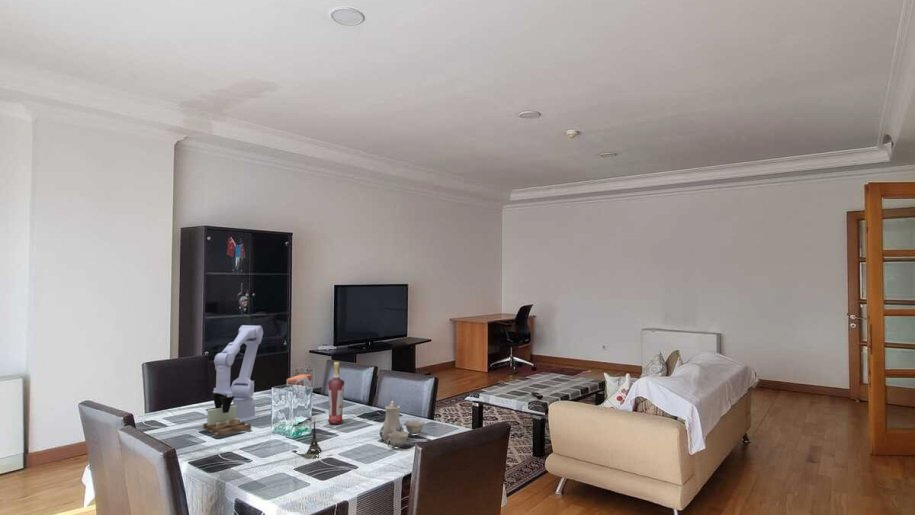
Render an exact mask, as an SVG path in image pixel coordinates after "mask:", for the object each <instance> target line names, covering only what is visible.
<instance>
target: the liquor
mask: <svg viewBox="0 0 915 515" xmlns="http://www.w3.org/2000/svg"><path fill="white" fill-rule="evenodd" d="M340 366H341V362H340V361H334V362H333V368H334V370H333V375H332V376H333V377H332V378H331V379H330V380H329V381H328V382H327V384H328V385H327V386H328V393H327V395H328V419H327V422H328V423H329V424H330V425H334V424H336V425H340V424H341V423H342V422H343V421H344V419H343V406H344V405H343V404H344V393H345V381H344V379H341V378H340V377H341V376H340ZM339 423H340V424H339Z"/></svg>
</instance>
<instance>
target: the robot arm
mask: <svg viewBox="0 0 915 515" xmlns="http://www.w3.org/2000/svg"><path fill="white" fill-rule="evenodd" d="M263 335H264V330H263V327H262V325H250V324H249V325H245V324H243V325H240V327H239V328H238V334H237V335H236V338H235V339H234V340H233V341H232V342H228V344H227V345H226V347H224V349H223V350H222V351H221V352H218V353H216V354H215V356H214V360H213V363H214V367H215V368H214V369H215V371H216V375H215V377H216V378H215V387H213V391H212V393H211V398H212V399H213V403H214V409H216V408H223V413H228V412H229V409H230V406H234V405H235V406H237V411H236V418H238V419H239V420H240V421H241V420H246V419H251V418H255V417H256V401H255V399H254V397H253V396H254V393H255V383H254V382H253V381H252V380H251V376H252V372H253V370H254V369H253V368H254V364H255V360H256V356H257V351H258V348H259V345H261V343H262V340H263ZM243 344H244V345H246V348H245V352H244V356H243V360H242V364H241V368H240V371H239V375H238V377H237V378H236V379H234V380H233V381H232V384H231V368H232V365H233V364H234V362H235V358H236V356H237V354H238V353H239V352H240V351H241V346H242V345H243Z"/></svg>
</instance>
